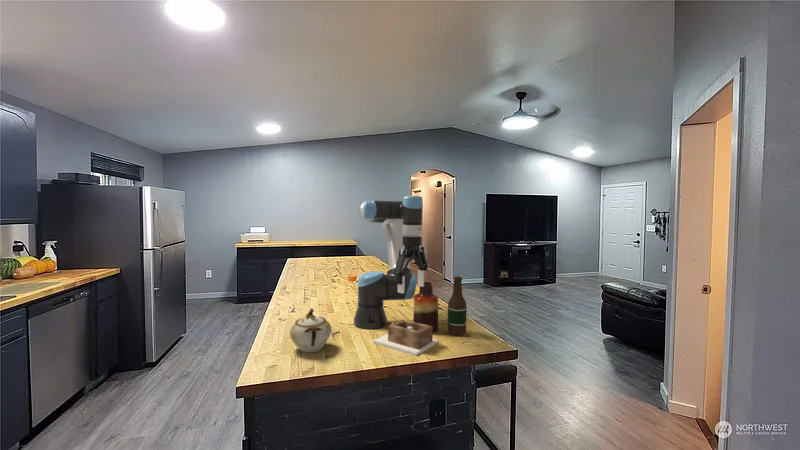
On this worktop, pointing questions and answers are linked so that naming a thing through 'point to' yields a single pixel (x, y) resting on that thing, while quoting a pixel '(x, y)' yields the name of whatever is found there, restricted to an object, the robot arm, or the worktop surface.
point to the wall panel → (412, 351)
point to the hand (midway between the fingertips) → (411, 289)
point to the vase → (426, 307)
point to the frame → (410, 334)
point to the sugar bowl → (310, 332)
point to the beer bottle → (457, 310)
